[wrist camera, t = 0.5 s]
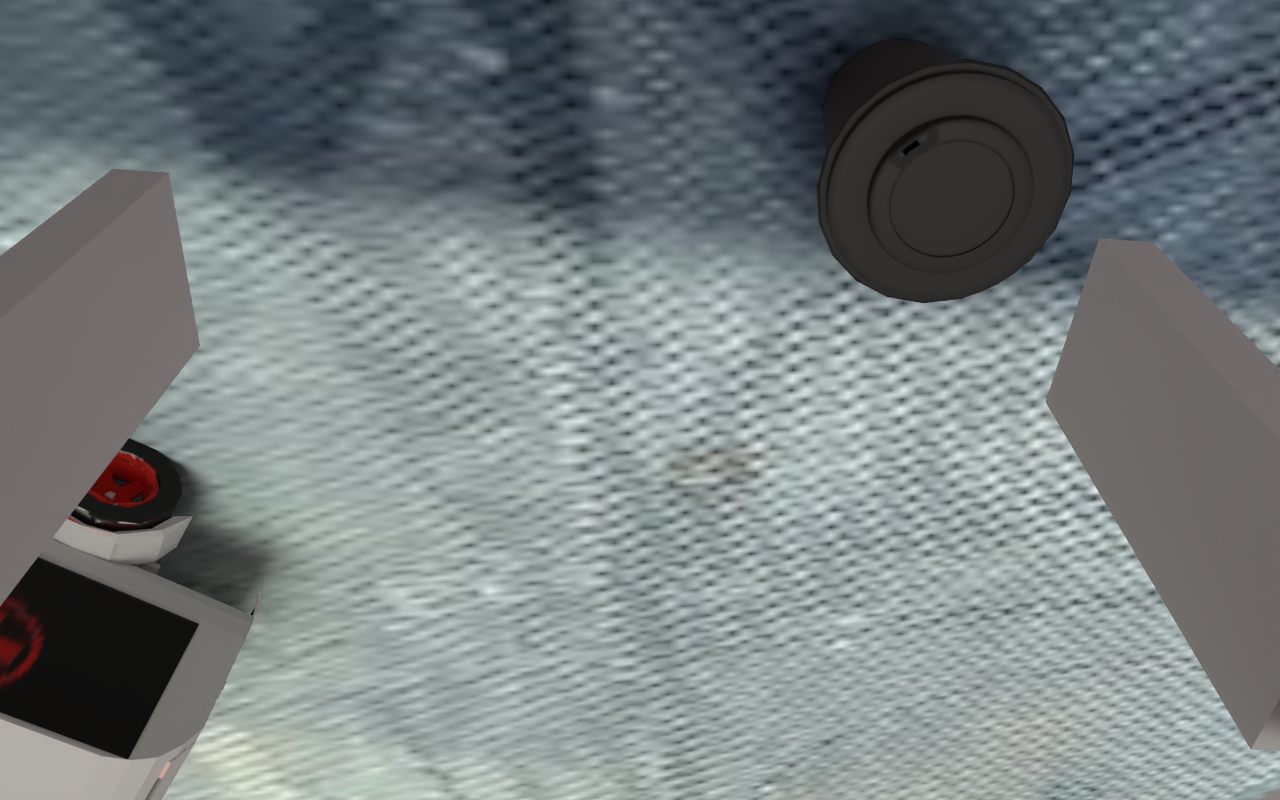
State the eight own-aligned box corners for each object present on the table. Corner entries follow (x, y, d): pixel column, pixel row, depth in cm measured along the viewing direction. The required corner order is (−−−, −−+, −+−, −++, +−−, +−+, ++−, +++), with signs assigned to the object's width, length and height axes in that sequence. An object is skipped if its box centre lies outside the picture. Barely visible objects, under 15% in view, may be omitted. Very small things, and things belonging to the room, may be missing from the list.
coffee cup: (840, -33, 38) (894, 29, 29) (1036, 43, 39) (1141, 123, 31) (755, 169, 42) (780, 275, 33) (935, 232, 43) (1003, 349, 35)
